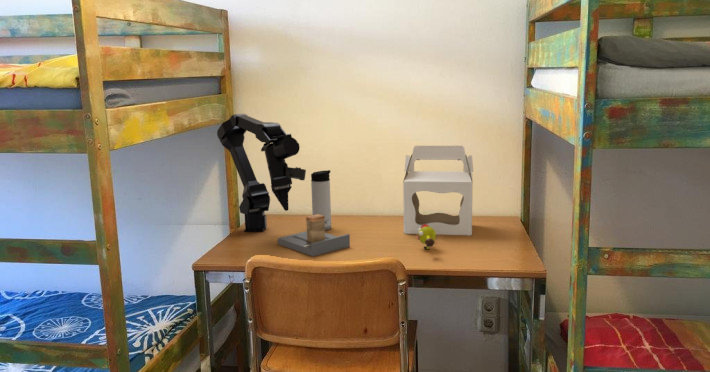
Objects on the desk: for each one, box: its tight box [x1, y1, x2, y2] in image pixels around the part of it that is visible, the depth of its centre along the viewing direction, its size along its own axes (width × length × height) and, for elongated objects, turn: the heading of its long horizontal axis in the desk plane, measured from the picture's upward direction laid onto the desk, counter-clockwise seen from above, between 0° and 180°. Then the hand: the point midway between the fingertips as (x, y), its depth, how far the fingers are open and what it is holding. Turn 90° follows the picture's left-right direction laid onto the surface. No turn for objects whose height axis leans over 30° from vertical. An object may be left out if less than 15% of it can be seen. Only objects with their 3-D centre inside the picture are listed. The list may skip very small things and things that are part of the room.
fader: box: [305, 214, 326, 244], centre depth 176 cm, size 5×4×8 cm
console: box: [277, 230, 351, 257], centre depth 182 cm, size 18×14×4 cm
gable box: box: [402, 145, 474, 236], centre depth 195 cm, size 22×13×28 cm, turn 79°
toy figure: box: [416, 224, 437, 251], centre depth 176 cm, size 18×6×7 cm, turn 178°
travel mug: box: [310, 169, 332, 231], centre depth 200 cm, size 6×7×20 cm
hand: (286, 210), depth 187 cm, fingers closed
